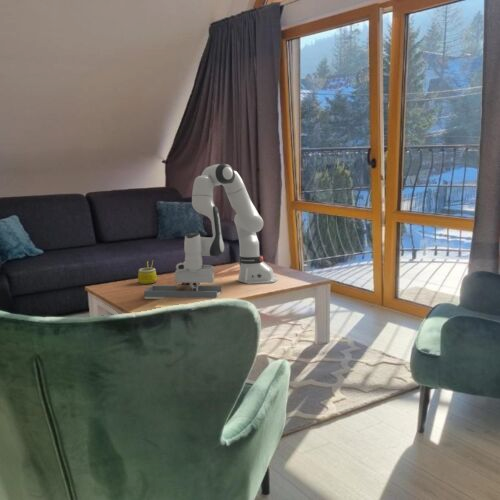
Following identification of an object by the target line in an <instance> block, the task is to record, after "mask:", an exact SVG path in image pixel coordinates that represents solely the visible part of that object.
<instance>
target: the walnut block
mask: <svg viewBox="0 0 500 500" xmlns="http://www.w3.org/2000/svg"><path fill="white" fill-rule="evenodd" d="M177 285H178V286H177V287H176V288H175V291H192V288H191V286H190V285H182V284H177Z"/></svg>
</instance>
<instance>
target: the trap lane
mask: <svg viewBox="0 0 500 500" xmlns="http://www.w3.org/2000/svg"><path fill="white" fill-rule="evenodd" d="M178 285H179V284H177V285H176V284H175V285H173V284H171V285H170V284H169V285H164V284H162V285H157V284H153V285H150V286H149V287H148V288H146V289H145V290H143V292H144V293H143V294H144V299H145V300H164V299H165V298H207V299H208V298H214V299H215V298H218V296H219V295H220V294H221V293H222V285H199V287H198V291H175V288H176V287H177V286H178ZM193 286H194V287H197V285H193Z"/></svg>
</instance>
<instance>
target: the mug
mask: <svg viewBox="0 0 500 500" xmlns="http://www.w3.org/2000/svg"><path fill="white" fill-rule="evenodd" d="M153 263H154V260H151V266H150V267H149V260H148V261H146V267H142V268H139V269H138V271H137V272H138V273H137V281H138V283H140V284H141V285H150V284H154V283H156V282H157V280H158V276H157V271H156V270H157V269H156V268H155V267H153Z"/></svg>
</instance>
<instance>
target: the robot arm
mask: <svg viewBox="0 0 500 500" xmlns="http://www.w3.org/2000/svg"><path fill="white" fill-rule="evenodd" d="M221 185H222V187H223V188H224V191H225V194H226V196H227V198H228V201H229V203H230V206H231V208H232V209H233V210H234V212H235V213H236V214H235V216H234V219H233V222H234V224H235V228H236V232H237V237H238V242H239V256H238V264H239V265H238V266H239V273H238V277H237V278H238V279H237V281H238V282H240V283H244V284H246V285H247V284H248V285H249V284H254V285H255V284H271V283H272V284H273V283H276V282H277V281H278V279H279V278H278V276H277V275H275V274H274V270H273V268H272V267H271V266H269V264H267V263H265V262H264V257H263V255H260V241H259V239H258V236H257V233H258V232H260V231H261V230H262V229H263V227H264V219H263V218H262V216H261V215H260V214H259V212H258V210H257V208H256V207H255V205H254V203H253V202H252V199H251V198H250V195H249V193H248V191H247V187H246V185H245V183H244V180H243V179H242V177H241V175H240V174H239V173H238V171H236V170H234V168H233V167H232V166H231V165H230V164H227V163H219V164H218V163H217V164H216V163H215V164H213V165H210V166H206V167H204V168H203V169H202V170H201V171H200V172H199V175H198V176H197V177H195V179H194V181H193V186H192V194H191V205H192V208H193V209H194V210H195V212H197V213H199V214H201V215H203V216H205V217H207V218H208V219H209V220H210V222H211V223H210V224H211V232H212V237H211V236H210V237H206V236H201V234H200V233H199V232H194V231H193V232H189V233H186V234H185V236H184V241H183V243H184V246H183V247H184V249H183V252H184V254H185V255H184V261H181V262H179V263H177V264H176V266H175V269H176V270H175V271H174V281H175V283H179V284H182V283H190V286H191V288H192V291H198V287H199V286H201V284H213V283H214V281H215V274H214V273H215V267H214V266H213V265H211V264H203V257H204V256H205V257H207V256H208V257H215V258H218V257H220V256H222V254H223V253H224V252H225V242H224V239H223V232H222V231H223V230H222V223H221V215H220V210H219V208H218V206H216V205H215V202H214V189H215V187H217V186H221ZM202 256H203V257H202ZM193 283H196V285H194V286H197V287H194V286H193V285H192V284H193Z"/></svg>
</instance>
